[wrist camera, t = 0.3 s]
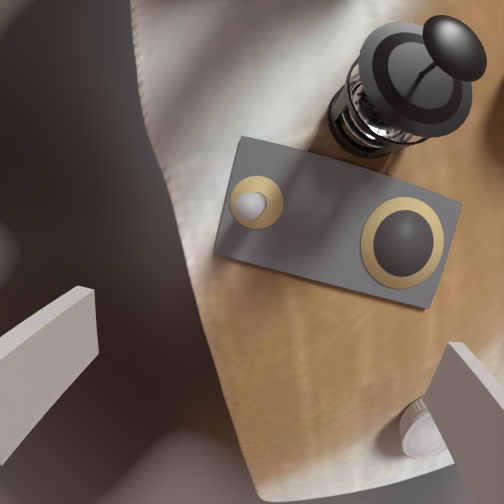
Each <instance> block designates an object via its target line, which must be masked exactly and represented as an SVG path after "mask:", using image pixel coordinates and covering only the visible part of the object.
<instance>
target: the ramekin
mask: <svg viewBox="0 0 504 504" xmlns="http://www.w3.org/2000/svg"><path fill="white" fill-rule="evenodd" d="M423 397H424V396H422V397H421V398H419V399H417V400H416V401H414V402H413V403H412V404H411V405H410V406H409V407H408V408H407V409H406V410H405V412H404V414H403V415H402V417H401V420H400V424H399V430H400V437H401V441H400V444H401V448H402V451H403V453H404V454H405V455H406V456H408V457H410V458H413V459H424V458H429V457H432V456H435V455H437V454H439V453H441V452H443V451H445V450H446V449H448V448H447V446H446V444H445V442H444V440H443V438H442V436H441V434H440V432H439V430H438V428H437V426H436V424H435V422H434V421H433V419H432V417H431V415H430V413H429V411H428V409H427V407H426V405H425V404H424V402H423V400H422V399H423Z"/></svg>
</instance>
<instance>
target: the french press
mask: <svg viewBox="0 0 504 504" xmlns="http://www.w3.org/2000/svg"><path fill="white" fill-rule="evenodd" d="M358 62H359V73H357V74H355V75H354V76H353V77H351V72H352V70H353V68H354V67H355V66H356V64H357V63H358ZM486 66H487V59H486V53H485V50H484V47H483V45H482V43H481V41H480V40H479V38H478V37H477V35H476V34H475V33H474V32H473V31H472V30H471V29H470V28H469V27H468V26H467V25H466V24H464V23H463V22H461V21H460V20H458V19H456V18H453V17H450V16H446V15H436V16H433V17H431V18H430V19H428V20H427V21H426V23H425V24H424V27H422V26H420V25H416V24H412V23H404V22H396V23H389V24H386V25H383V26H381V27H379V28H377V29H376V30H374V31H373V32H372V33H371V34H370V35H369V36H368V37H367V39H366V40H365V42H364V44H363V46H362V48H361V50H360V55H359V57H358V58H357V59H356V60H355V62H354V63H353V64H352V66H351V68H350V70H349V73H348V75H347V77H346V82H345V85H343V86H342V87H341V89H340V90H339V91H338V92H337V93H336V94H335V96H334V97H333V98H332V101H331V103H330V105H329V109H328V123H329V127H330V130H331V133H332V135H333V136H334V138H335V140H336V141H337V142H338V143H339V145H340V146H341V147H342V148H344V149H345V150H346V151H347V152H349V153H351V154H353V155H355V156H358V157H361V158H367V159H374V158H380V157H383V156H386V155H387V154H389V153H391V152H392V151H395V150H398V149H401V148H404V147H408V146H411V145H414V144H418V143H421V142H424V141H425V140H427V139H429V138H432V137H440V136H444V135H448V134H450V133H452V132H453V131H455V130H457V129H458V128H459V127H460V126H461V125H462V124H463V123H464V121H465V120H466V118H467V116H468V115H469V111H470V108H471V104H472V86H471V82H473V81H476V80H478V79H480V78H481V77H482V76H483V74H484V72H485V70H486ZM350 77H351V78H350ZM341 114H342V116H343V118H344V121H345V123H346V125H347V126H348V128H349V129H350V131H351V132H352V133H353V134H354V135H355V136H356V137H357V138H359V139H360V140H361V141H362V142H364V143H366V144H368V145H370V146H373V147H372V148H370V147H364V146H360V145H358V144H356V143H354V142H353V141H352V140H350V139H349V138H348V136H347V135H346V134H345V133H344V131H343V129H342V127H341V124H340V119H339V117H340V116H341ZM413 135H415V136H420V137H424V138H422V139H420V140H418V141H416V142H410V143H406V142H408V141H409V140H410V139H411V138H412V136H413Z"/></svg>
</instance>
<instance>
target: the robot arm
mask: <svg viewBox="0 0 504 504" xmlns="http://www.w3.org/2000/svg"><path fill="white" fill-rule="evenodd" d="M98 353H99V352H98V341H97V329H96V315H95V295H94V290H93V289H89V288H85V287H81V286H77V287H75V288H73V289H72V290H70V291H69V292H67V293H65V294H64V295H62V296H61V297H59V298H58V299H56V300H55V301H53V302H52V303H50V304H48V305H47V306H45V307H44V308H42V309H41V310H39V311H38V312H36V313H35V314H33V315H32V316H30V317H29V318H28V319H26V320H25V321H23V322H22V323H20V324H19V325H17V326H16V327H14V328H13V329H11V330H10V331H9V332H7V333H6V334H4V335H1V336H0V465H3V464H4V462H5V461H6V460H7V459H8V457H9V456H10V455H11V454H12V452H13V451H14V450H15V449H16V448H17V446H18V445H19V444H20V443H21V441H22V440H23V439H24V438H25V437H26V436H27V434H28V433H29V432H30V431H31V430H32V429H33V427H34V426H35V425H36V424H37V423H38V421H39V420H40V419H41V418H42V417H43V416H44V414H45V413H46V412H47V411H48V410H49V409H50V408H51V406H52V405H53V404H54V403H55V402H56V401H57V399H58V398H59V397H60V396H61V395H62V394H63V392H64V391H65V390H66V389H67V388H68V387H69V386H70V385H71V383H72V382H73V381H74V380H75V379H76V378H77V377H78V376H79V375H80V374H81V372H82V371H83V370H84V369H85V368H86V367H87V366H88V365H89V364H90V362H91V361H92V360H93V359H94V358H95V357H96V356H97V355H98ZM422 400H423V402H424V404H425V405H426V407H427V409H428V411H429V413H430V415H431V417H432V419H433V421H434V422H435V424H436V426H437V428H438V430H439V432H440V434H441V436H442V438H443V440H444V442H445V444H446V446H447V448H448V450H449V452H450V454H451V456H452V458H453V460H454V462H455V464H456V466H457V468H458V470H459V473H460V475H461V477H462V478H463V481H464V483H465V485H466V487H467V490H468V492H469V494H470V496H471V499H472V501H473V503H474V504H504V389H503V387H502V386H501V385H500V384H499V383H498V382H497V380H496V379H495V378H494V377H493V376H492V375H491V373H490V372H489V371H488V370H487V369H486V368H485V367H484V366H483V364H482V363H481V362H480V361H479V360H478V359H477V358H476V357H475V356H474V355H473V353H472V352H471V351H470V350H469V349H468V348H467V347H466V346H465V345H464V344H463V343H458V342H448V343H447V345H446V348H445V350H444V353H443V355H442V358H441V360H440V362H439V365H438V367H437V369H436V372H435V374H434V376H433V378H432V380H431V383H430V385H429V387H428V389H427V391H426V393H425V395H424V397H423V399H422Z"/></svg>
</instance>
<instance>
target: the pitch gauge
mask: <svg viewBox="0 0 504 504" xmlns="http://www.w3.org/2000/svg"><path fill="white" fill-rule="evenodd" d="M461 205H462V203H459V202H457V201H454V200H452V199H449V198H447V197H444V196H442V195H439V194H437V193H434V192H431V191H429V190H426V189H423V188H421V187H418V186H415V185H413V184H410V183H407V182H404V181H401V180H399V179H396V178H393V177H390V176H387V175H384V174H381V173H378V172H375V171H372V170H369V169H366V168H362V167H359V166H356V165H353V164H349V163H346V162H343V161H339V160H336V159H332V158H329V157H325V156H322V155H318V154H315V153H311V152H307V151H303V150H300V149H296V148H292V147H288V146H284V145H280V144H276V143H271V142H267V141H263V140H258V139H254V138H249V137H245V136H241V140H240V144H239V148H238V152H237V156H236V160H235V164H234V168H233V172H232V176H231V180H230V185H229V189H228V193H227V197H226V201H225V206H224V210H223V214H222V219H221V223H220V227H219V232H218V236H217V241H216V245H215V250H214V254H217V255H221V256H225V257H228V258H232V259H236V260H240V261H243V262H247V263H251V264H255V265H259V266H262V267H266V268H270V269H274V270H278V271H281V272H285V273H289V274H293V275H297V276H300V277H304V278H308V279H312V280H316V281H320V282H324V283H327V284H331V285H335V286H339V287H343V288H347V289H351V290H355V291H359V292H362V293H366V294H370V295H374V296H378V297H382V298H386V299H390V300H394V301H398V302H402V303H406V304H410V305H414V306H418V307H422V308H426V309H429V307H430V305H431V302H432V300H433V297H434V294H435V291H436V289H437V286H438V283H439V280H440V277H441V274H442V271H443V268H444V265H445V262H446V259H447V256H448V253H449V249H450V246H451V243H452V239H453V236H454V232H455V228H456V225H457V221H458V217H459V213H460V209H461Z"/></svg>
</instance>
